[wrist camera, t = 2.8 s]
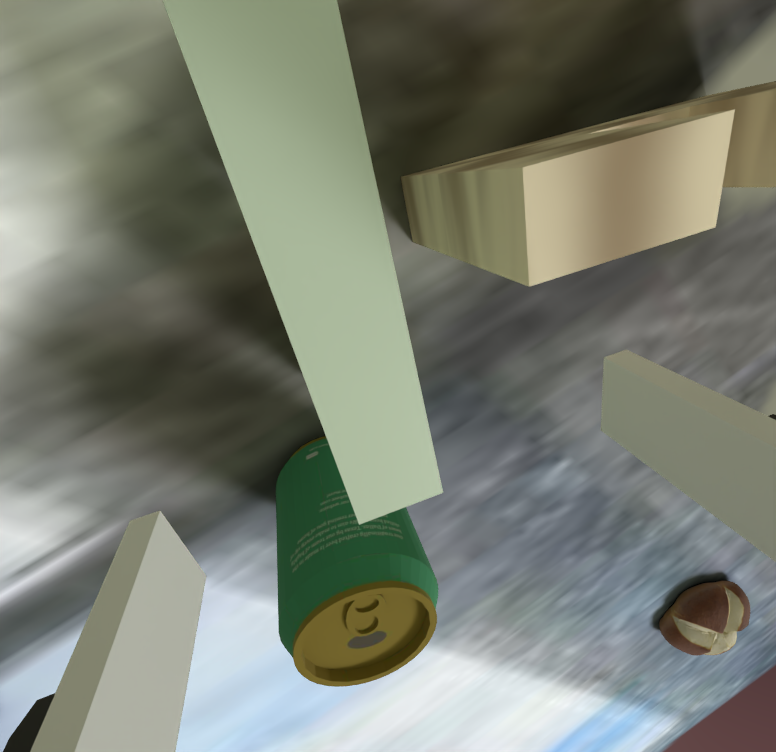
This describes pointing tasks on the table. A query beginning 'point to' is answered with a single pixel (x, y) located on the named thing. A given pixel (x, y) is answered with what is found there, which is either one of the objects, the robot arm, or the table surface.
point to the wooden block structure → (596, 187)
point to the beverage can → (346, 578)
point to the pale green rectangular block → (316, 228)
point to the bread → (706, 618)
